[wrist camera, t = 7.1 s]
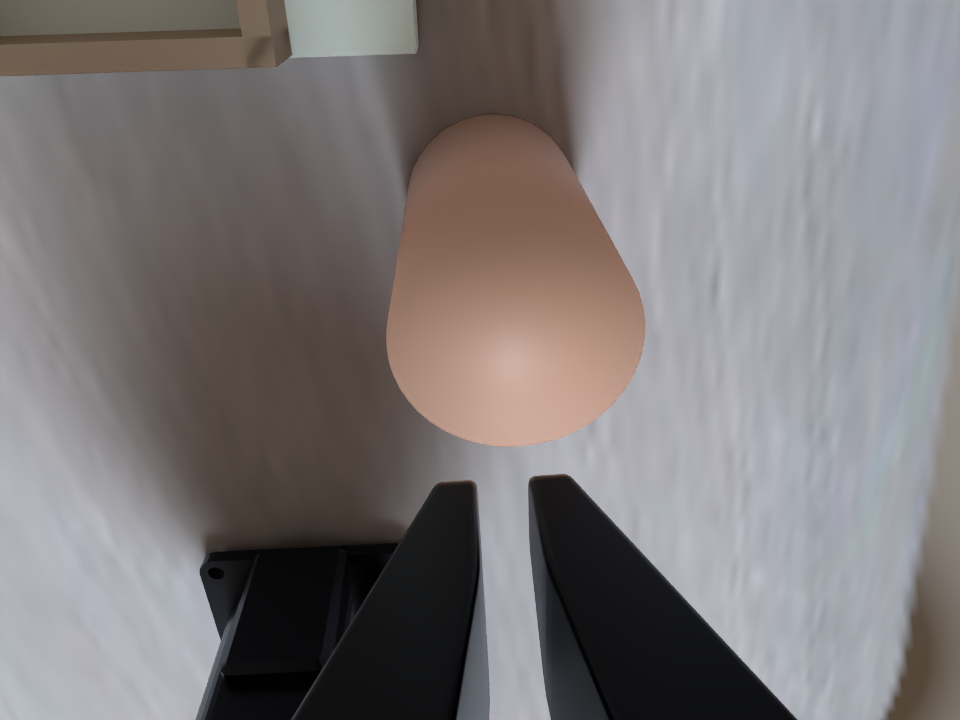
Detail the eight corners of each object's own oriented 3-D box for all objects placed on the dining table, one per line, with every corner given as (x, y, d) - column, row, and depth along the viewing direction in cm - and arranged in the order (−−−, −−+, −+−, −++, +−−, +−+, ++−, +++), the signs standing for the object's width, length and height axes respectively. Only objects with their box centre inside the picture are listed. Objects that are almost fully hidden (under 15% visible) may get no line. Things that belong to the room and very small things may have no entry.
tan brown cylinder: (571, 274, 18) (633, 441, 12) (414, 280, 18) (398, 452, 12) (578, 111, 16) (658, 213, 10) (401, 117, 16) (372, 224, 10)
